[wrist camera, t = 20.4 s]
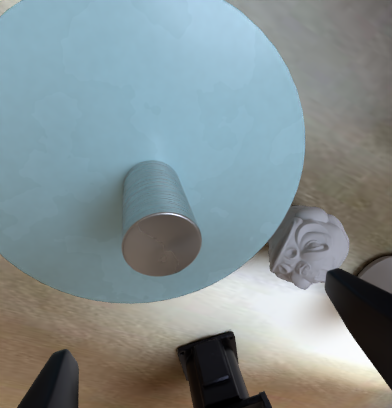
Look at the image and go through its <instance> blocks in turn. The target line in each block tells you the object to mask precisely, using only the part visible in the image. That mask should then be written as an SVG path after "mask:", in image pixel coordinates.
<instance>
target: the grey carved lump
mask: <svg viewBox="0 0 392 408" xmlns="http://www.w3.org/2000/svg"><path fill="white" fill-rule="evenodd" d="M268 244H269V252H268V254H269V262H270V271H271V272H273V273H275V274H276V276H277V277H279V278H281V279H283V280H286V281H288V282H292V283H294V285H295V286H297V287H299V288H301V289H304V290H306V289H307V288H309V286H310V285H311V284H312V283H318V282H321V283H323V282H325V280H326V273H327V271H329V270H332V269H335V268H338V267H339V266H341V264H342V263H343V261H344V260H345V258H346V256H347V254H348V250H349V239H348V236H347V234H346V233H345V231H344V228H343V226H342V224H341V222H340V221H339V220H338V219H337V218H336V217H334V216H333V215H331V214H326V212H325V211H324V210H322V209H321V208H318V207H308V206H302V205H296V206H290V208H289V210H288V211H287V213H286V215H285V217H284V219H283V221H282V222H281V224H280V225H279V227H278V228H277V230H276V231H275V233H274V234H273V235H272V236H271V238H270V239H269V240H268Z"/></svg>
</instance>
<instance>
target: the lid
mask: <svg viewBox="0 0 392 408" xmlns="http://www.w3.org/2000/svg"><path fill="white" fill-rule="evenodd" d="M304 154H305V127H304V119H303V111H302V107H301V103H300V100H299V96H298V92H297V89H296V86H295V84H294V82H293V79H292V77H291V75H290V72H289V70H288V68H287V66H286V64H285V63H284V61H283V59H282V58H281V56H280V55H279V53H278V51H277V50H276V48H275V47H274V45H273V44H272V43H271V42H270V40H269V39H268V38H267V37H266V36H265V34H264V33H263V32H262V31H261V30H260V28H259V27H258V26H256V25H255V24H254V23H253V22H252V21H251V20H250V19H249V18H248V17H246V16H245V15H244V14H243V13H242V12H241V11H240V10H239V9H237V8H236V7H234V6H232V5H231V4H229V3H228V2H226V1H225V0H21V1H20V2H18V3H17V4H15V5H14V6H12V7H11V8H9V9H8V10H7V11H5V12H4V13H3V14H2V15H1V16H0V254H1V255H2V256H3V257H4V258H5V259H6V260H8V261H9V262H10V263H12V264H13V265H14V266H16V267H17V268H18V269H20V270H21V271H22V272H24V273H25V274H27V275H29V276H31V277H32V278H34V279H36V280H38V281H39V282H41V283H43V284H45V285H48V286H50V287H52V288H54V289H57V290H59V291H62V292H65V293H68V294H71V295H74V296H77V297H81V298H86V299H90V300H95V301H102V302H110V303H130V304H131V303H149V302H156V301H162V300H168V299H172V298H176V297H180V296H184V295H187V294H190V293H192V292H195V291H198V290H200V289H203V288H205V287H207V286H210V285H212V284H214V283H216V282H217V281H219V280H221V279H223V278H225V277H226V276H228V275H229V274H231V273H232V272H234V271H235V270H237V269H238V268H240V267H241V266H242V265H243V264H245V263H246V262H247V261H248V260H250V259H251V258H252V257H253V256H254V255H255V254H256V253H257V252H258V251H259V250H260V249H261V248H262V247H263V246H264V245H265V244H266V243H267V241H268V240H269V239H270V238H271V236H272V235H273V234H274V233H275V231H276V230H277V228H278V227H279V225H280V224H281V222H282V221H283V219H284V217H285V215H286V213H287V211H288V210H289V208H290V206H291V204H292V201H293V199H294V196H295V193H296V191H297V188H298V185H299V181H300V177H301V173H302V169H303V162H304Z"/></svg>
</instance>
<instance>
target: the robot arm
mask: <svg viewBox="0 0 392 408" xmlns="http://www.w3.org/2000/svg"><path fill="white" fill-rule="evenodd" d="M325 291H326V293H327V295H328V297H329V298H330V300H331V302H332V303H333V305H334V307H335V308H336V310H337V312H338V313H339V315H340V317H341V319H342V320H343V322H344V324H345V325H346V327H347V329H348V330H349V332H350V333H351V335H352V336H353V338H354V339H355V341H356V342H357V343H358V345H359V346H360V347H361V349H362V350H363V351H364V353H365V354H366V356H367V357H368V358H369V360H370V361H371V362H372V364H373V365H374V367H375V368H376V369H377V371H378V372H379V373H380V375H381V376H382V378H383V379H384V380H385V382H386V383H387V384H388V386H389V387H390V388H391V390H392V294H391V293H389V292H387V291H385V290H383V289H381V288H379V287H377V286H375V285H373V284H371V283H369V282H367V281H365V280H363V279H361V278H358V277H356V276H354V275H352V274H350V273H348V272H346V271H344V270H342V269H339V268H335V269H332V270H329V271H327V273H326V280H325ZM177 352H178V356H179V359H180V362H181V365H182V368H183V371H184V374H185V377H186V380H187V381H189V386H190V392H191V397H192V402H193V408H272V406H271V404H270V402H269V400H268V398H267V396H266V394H265V392H264V391H263V392H260V393H259V394H258V395H255V396H252V397H249V394H248V391H247V388H246V386H245V383H244V380H243V377H242V374H241V371H240V369H239V366H238V357H237V349H236V341H235V336H234V333H233V332H228V333H225V334H222V335H219V336H215V337H212V338H209V339H206V340H202V341H199V342H196V343H193V344H189V345H186V346H183V347H180V348H178V350H177ZM78 387H79V368H78V363H77V361H76V360H75V358H74V357H73V356H72V354H71V353H70V351H69V350H67V349H64V350H60V351H57V352H55V353H53V354H52V355H51V357H50V358H49V360H48V361H47V363H46V364H45V366H44V367H43V369H42V370H41V372H40V373H39V375H38V376H37V378H36V379H35V381H34V382H33V384H32V386H31V387H30V389H29V390H28V392H27V393H26V395H25V396H24V398H23V399H22V401H21V402H20V404H19V405H18V407H17V408H78Z"/></svg>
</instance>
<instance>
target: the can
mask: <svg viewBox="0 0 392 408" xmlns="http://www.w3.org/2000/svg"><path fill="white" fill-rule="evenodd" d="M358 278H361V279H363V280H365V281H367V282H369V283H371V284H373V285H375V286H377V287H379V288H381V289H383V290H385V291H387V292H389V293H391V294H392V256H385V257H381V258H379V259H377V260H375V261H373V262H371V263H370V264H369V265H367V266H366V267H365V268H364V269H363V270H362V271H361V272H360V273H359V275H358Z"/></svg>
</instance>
